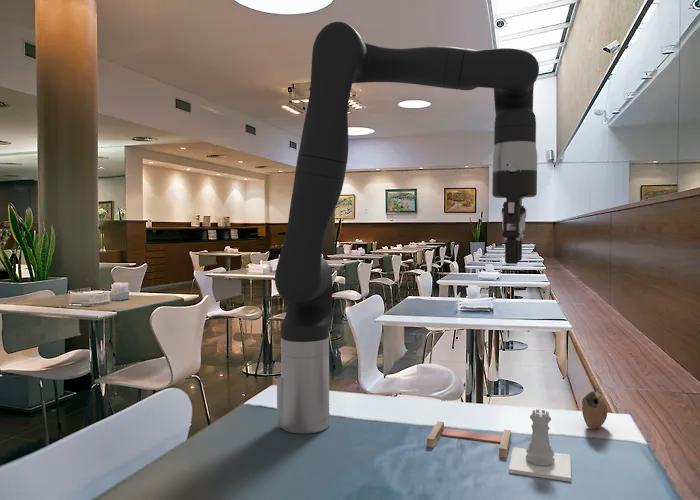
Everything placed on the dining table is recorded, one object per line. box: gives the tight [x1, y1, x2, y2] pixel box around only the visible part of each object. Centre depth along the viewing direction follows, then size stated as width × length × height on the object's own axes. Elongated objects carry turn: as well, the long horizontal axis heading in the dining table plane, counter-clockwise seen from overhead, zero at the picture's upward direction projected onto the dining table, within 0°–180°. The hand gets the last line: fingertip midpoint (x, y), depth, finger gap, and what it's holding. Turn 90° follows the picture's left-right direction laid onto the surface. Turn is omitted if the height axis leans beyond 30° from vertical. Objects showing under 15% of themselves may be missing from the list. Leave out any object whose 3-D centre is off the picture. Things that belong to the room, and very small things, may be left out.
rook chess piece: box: [525, 409, 555, 466], centre depth 88 cm, size 4×4×8 cm
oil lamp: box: [581, 390, 608, 430], centre depth 103 cm, size 9×4×8 cm, turn 147°
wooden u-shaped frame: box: [426, 421, 512, 459], centre depth 97 cm, size 13×9×2 cm
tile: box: [508, 446, 572, 483], centre depth 88 cm, size 9×9×1 cm
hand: (513, 262), depth 97 cm, fingers open, 8 cm apart
